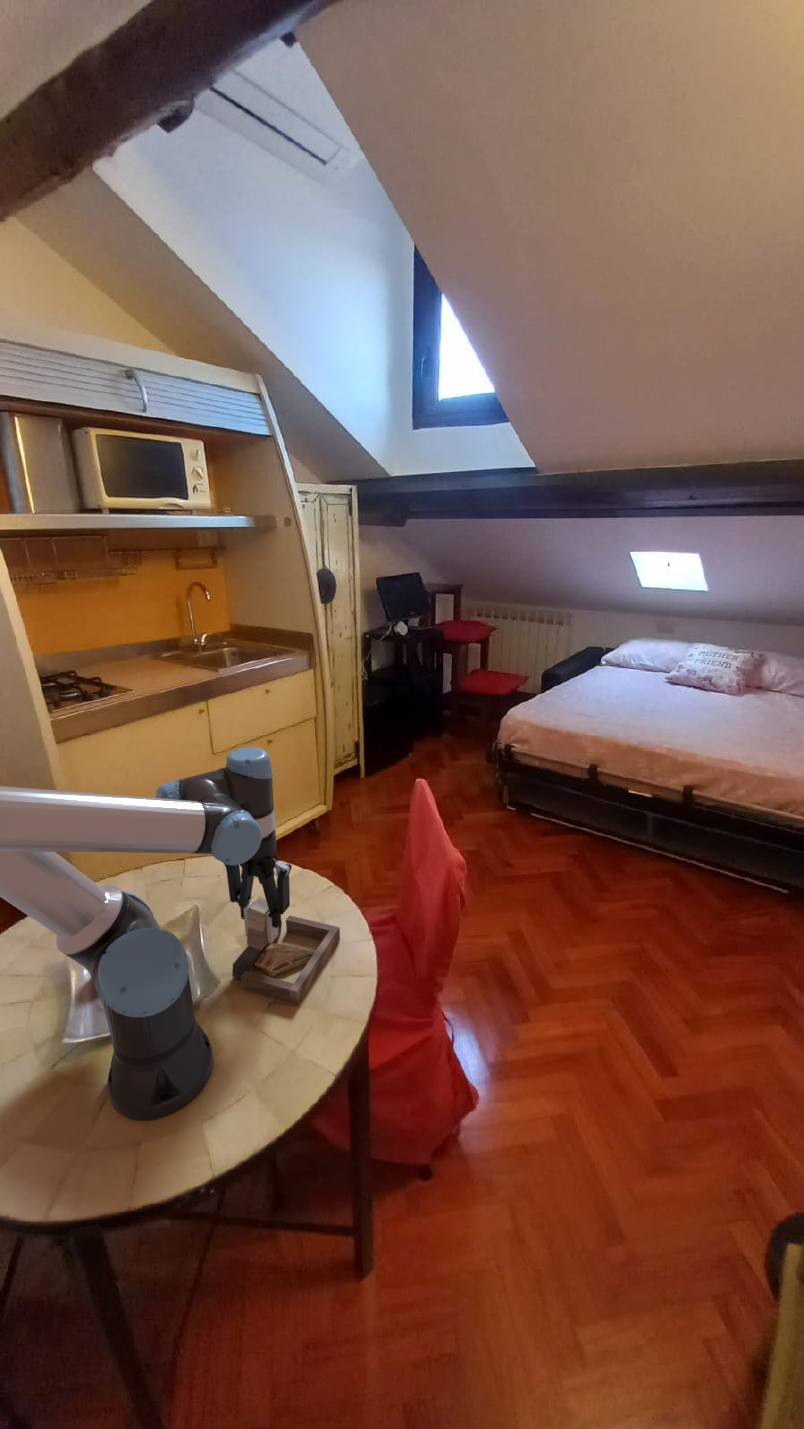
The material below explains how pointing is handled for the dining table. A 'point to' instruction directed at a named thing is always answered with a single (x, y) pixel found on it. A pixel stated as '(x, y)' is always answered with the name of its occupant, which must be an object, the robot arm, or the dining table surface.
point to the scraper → (254, 938)
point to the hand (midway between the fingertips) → (262, 935)
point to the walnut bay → (310, 971)
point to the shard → (282, 958)
